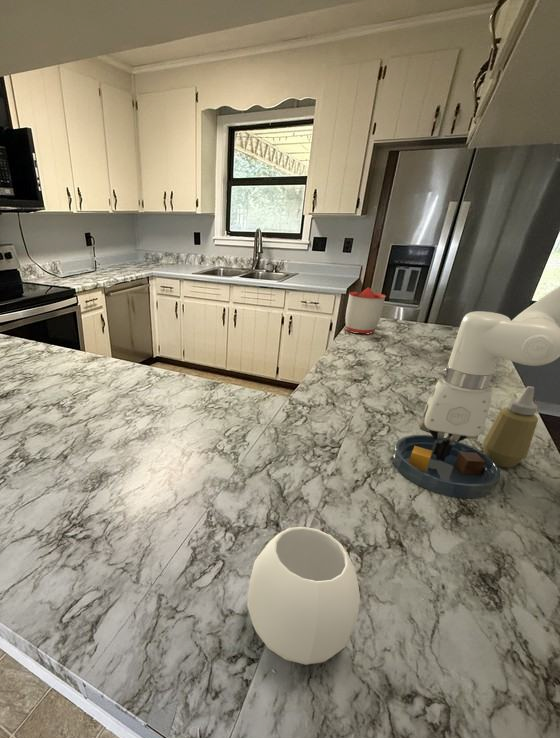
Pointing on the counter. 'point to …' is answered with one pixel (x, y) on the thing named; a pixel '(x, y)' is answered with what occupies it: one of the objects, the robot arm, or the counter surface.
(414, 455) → the mustard block
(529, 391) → the squeeze bottle
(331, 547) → the cup
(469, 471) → the walnut block
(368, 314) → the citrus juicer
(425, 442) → the plate
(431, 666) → the counter surface
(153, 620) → the counter surface
